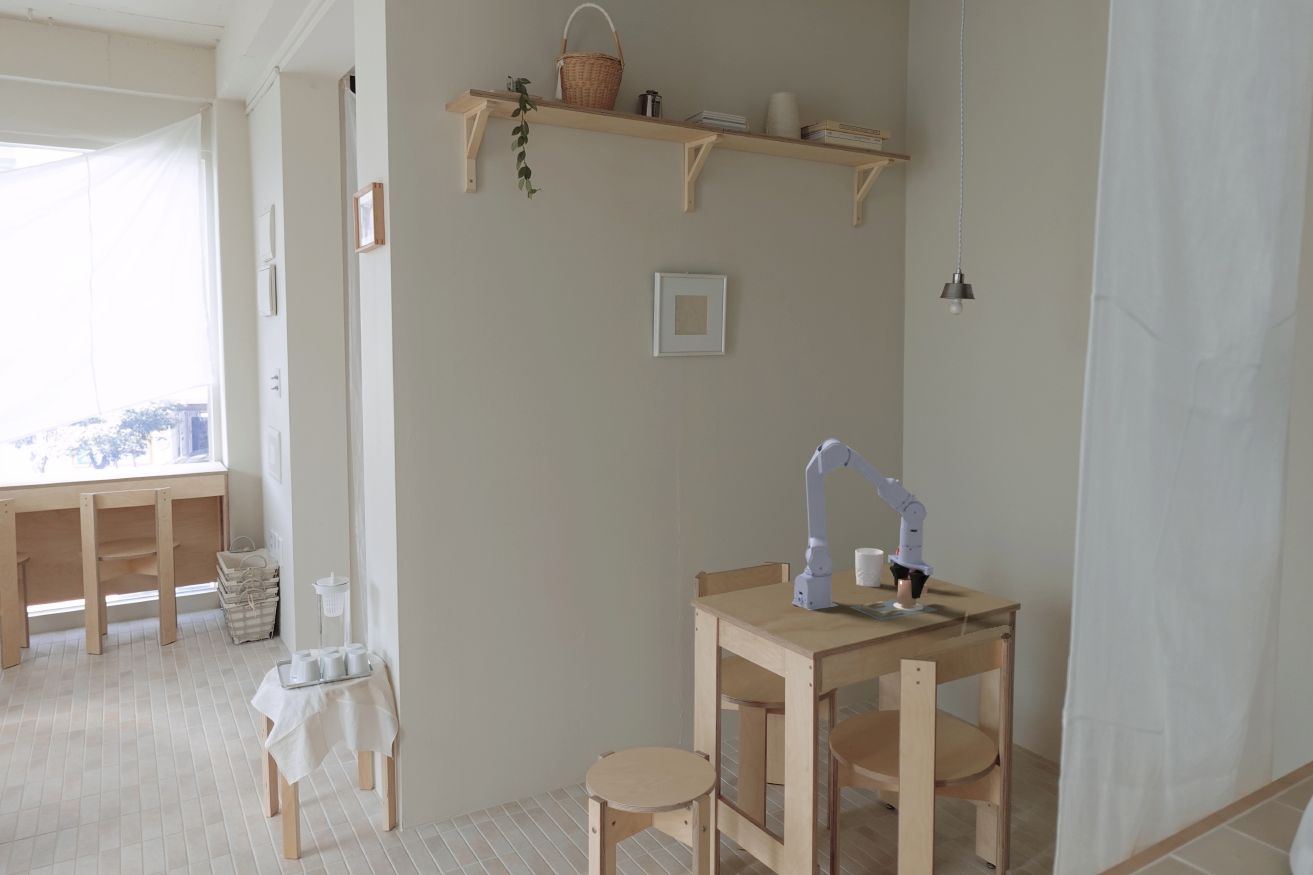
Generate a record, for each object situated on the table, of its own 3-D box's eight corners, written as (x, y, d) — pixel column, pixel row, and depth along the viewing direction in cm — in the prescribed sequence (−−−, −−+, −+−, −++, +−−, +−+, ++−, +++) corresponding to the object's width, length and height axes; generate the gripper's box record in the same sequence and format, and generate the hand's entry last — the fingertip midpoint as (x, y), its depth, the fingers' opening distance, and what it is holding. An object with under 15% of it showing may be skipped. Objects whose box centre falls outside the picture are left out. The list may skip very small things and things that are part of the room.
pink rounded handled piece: (907, 606, 231) (908, 583, 231) (893, 601, 235) (894, 579, 235) (931, 601, 236) (932, 579, 236) (917, 596, 240) (918, 574, 240)
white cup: (875, 590, 251) (876, 555, 250) (849, 585, 255) (850, 551, 254) (886, 584, 257) (888, 550, 256) (861, 579, 262) (862, 546, 261)
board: (881, 622, 223) (881, 620, 223) (849, 609, 234) (849, 606, 234) (937, 612, 232) (937, 610, 232) (905, 599, 242) (905, 597, 242)
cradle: (880, 616, 226) (880, 612, 226) (860, 608, 232) (860, 604, 232) (901, 613, 229) (901, 609, 229) (881, 604, 236) (881, 601, 235)
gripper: (943, 548, 228) (940, 600, 230) (903, 537, 241) (900, 586, 243) (922, 551, 225) (919, 604, 227) (882, 539, 238) (880, 589, 240)
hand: (908, 595), depth 235 cm, fingers closed on pink rounded handled piece, 5 cm apart
